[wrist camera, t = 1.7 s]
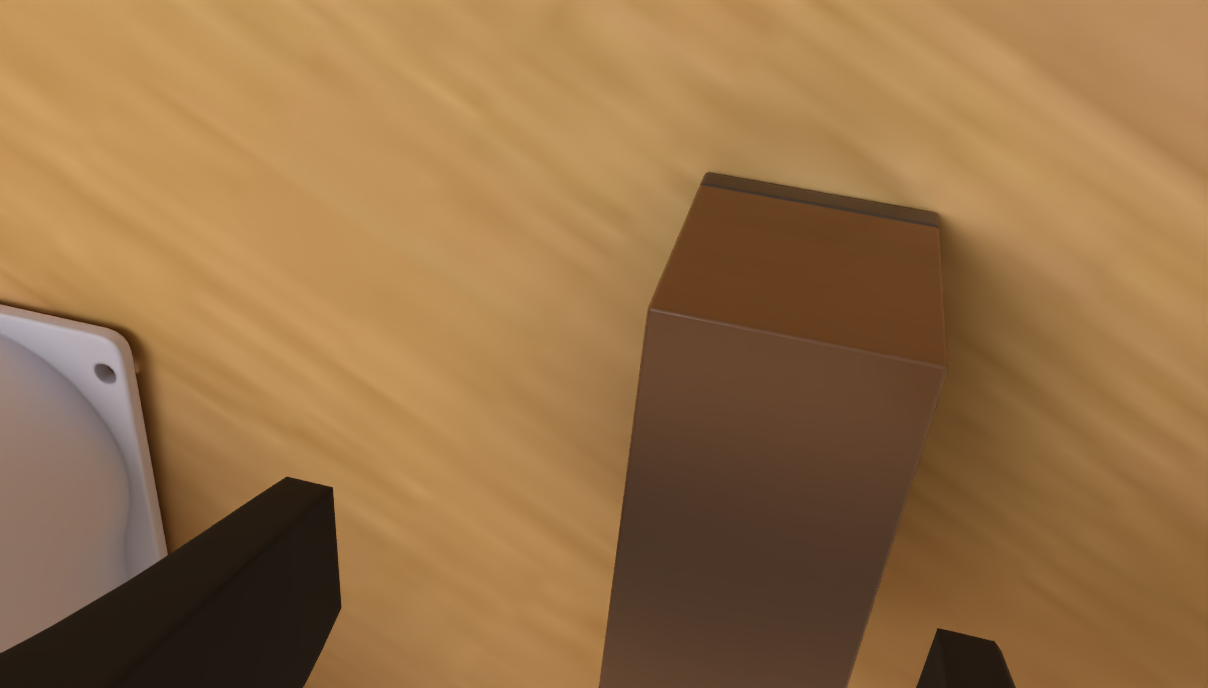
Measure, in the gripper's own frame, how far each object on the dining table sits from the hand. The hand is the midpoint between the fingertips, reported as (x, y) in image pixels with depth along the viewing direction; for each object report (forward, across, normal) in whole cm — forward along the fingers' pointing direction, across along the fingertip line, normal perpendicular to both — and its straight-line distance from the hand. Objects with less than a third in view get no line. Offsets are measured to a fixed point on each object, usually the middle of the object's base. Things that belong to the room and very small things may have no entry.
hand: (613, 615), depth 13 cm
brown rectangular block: (+8, -1, +2) cm, 9 cm away
